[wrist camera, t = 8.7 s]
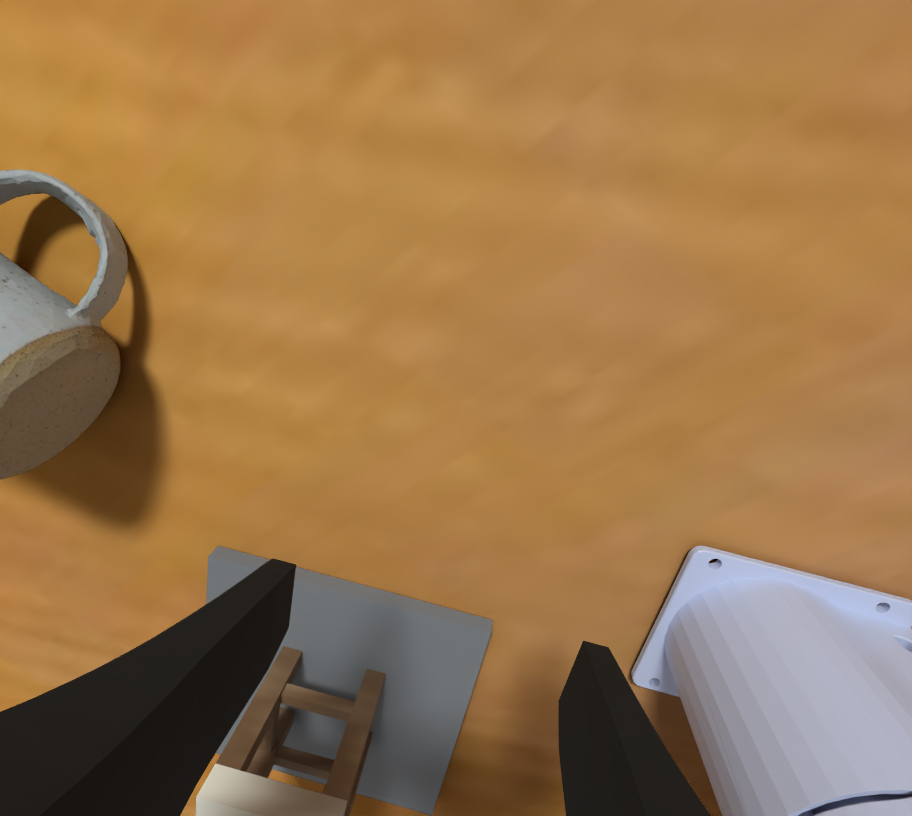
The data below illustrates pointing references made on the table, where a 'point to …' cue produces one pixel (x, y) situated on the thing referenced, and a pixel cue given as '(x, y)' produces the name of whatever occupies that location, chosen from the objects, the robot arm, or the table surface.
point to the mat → (380, 649)
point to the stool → (290, 750)
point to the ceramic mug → (55, 339)
